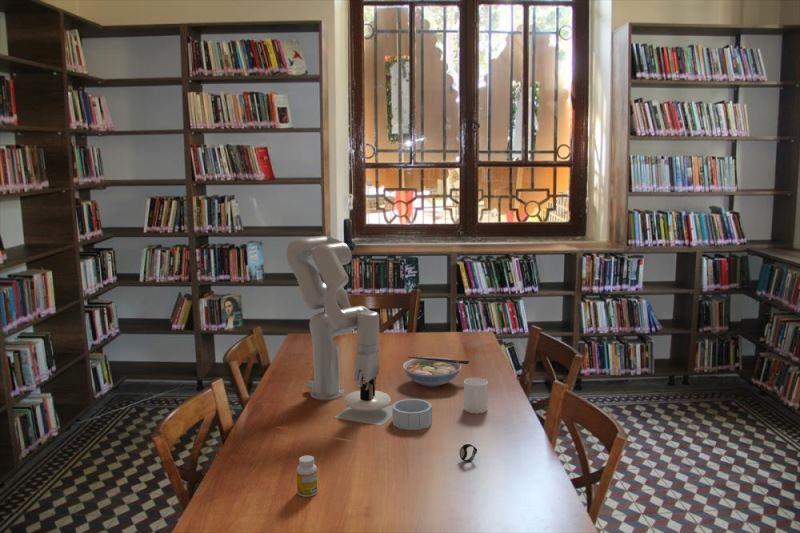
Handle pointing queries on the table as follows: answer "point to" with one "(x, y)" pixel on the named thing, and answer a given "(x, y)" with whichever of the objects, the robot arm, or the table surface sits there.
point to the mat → (367, 415)
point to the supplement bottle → (307, 476)
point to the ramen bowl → (432, 370)
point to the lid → (374, 402)
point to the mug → (475, 395)
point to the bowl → (412, 414)
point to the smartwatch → (464, 452)
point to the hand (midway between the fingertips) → (367, 397)
